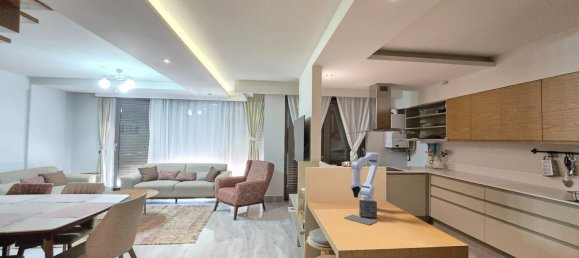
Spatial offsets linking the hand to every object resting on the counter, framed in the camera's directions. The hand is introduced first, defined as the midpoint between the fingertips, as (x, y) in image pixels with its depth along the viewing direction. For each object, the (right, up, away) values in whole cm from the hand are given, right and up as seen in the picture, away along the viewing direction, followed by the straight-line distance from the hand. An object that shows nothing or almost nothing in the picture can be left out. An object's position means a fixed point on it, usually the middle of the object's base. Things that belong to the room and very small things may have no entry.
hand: (355, 197), depth 182 cm
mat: (-2, -10, -19) cm, 21 cm away
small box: (+5, -10, -12) cm, 16 cm away
